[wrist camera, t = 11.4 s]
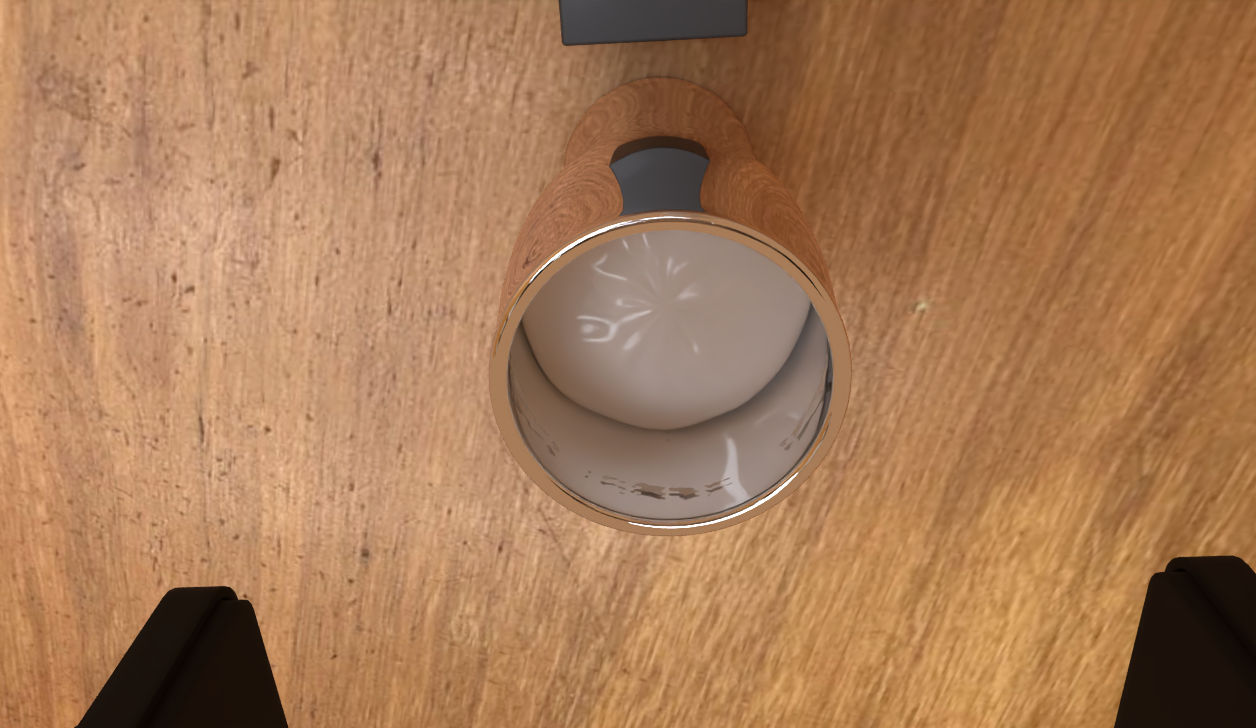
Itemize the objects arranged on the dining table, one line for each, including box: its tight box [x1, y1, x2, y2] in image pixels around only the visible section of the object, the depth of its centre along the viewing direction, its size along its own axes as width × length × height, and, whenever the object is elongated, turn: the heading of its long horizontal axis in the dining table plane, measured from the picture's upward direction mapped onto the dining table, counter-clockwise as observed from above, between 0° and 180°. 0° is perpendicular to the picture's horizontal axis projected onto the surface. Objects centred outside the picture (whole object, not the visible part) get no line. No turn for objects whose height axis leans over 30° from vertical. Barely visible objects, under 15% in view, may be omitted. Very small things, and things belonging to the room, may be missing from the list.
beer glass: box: [489, 77, 852, 536], centre depth 24 cm, size 7×7×15 cm
